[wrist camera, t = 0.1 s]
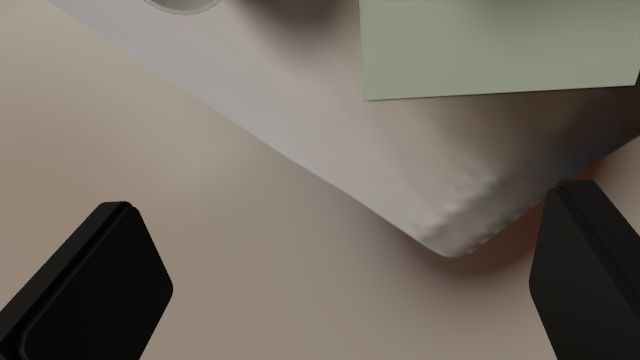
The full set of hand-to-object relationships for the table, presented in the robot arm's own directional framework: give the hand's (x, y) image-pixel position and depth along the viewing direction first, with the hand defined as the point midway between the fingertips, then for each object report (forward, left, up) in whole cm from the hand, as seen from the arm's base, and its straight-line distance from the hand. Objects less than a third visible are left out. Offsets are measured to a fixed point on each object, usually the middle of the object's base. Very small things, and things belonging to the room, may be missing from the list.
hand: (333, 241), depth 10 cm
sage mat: (+4, +12, -31) cm, 34 cm away
